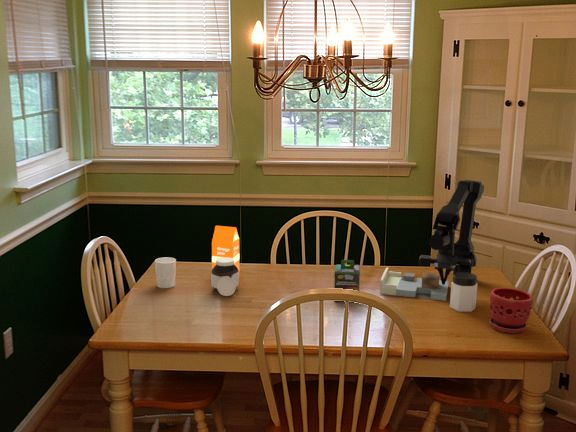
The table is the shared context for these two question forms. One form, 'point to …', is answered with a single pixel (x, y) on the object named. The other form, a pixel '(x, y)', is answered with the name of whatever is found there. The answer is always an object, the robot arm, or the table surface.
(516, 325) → the plant pot
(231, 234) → the orange juice
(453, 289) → the jar
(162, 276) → the white cup
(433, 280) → the walnut block
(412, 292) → the deck
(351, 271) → the chalk box
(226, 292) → the spread jar
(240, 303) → the table surface
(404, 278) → the gray block
